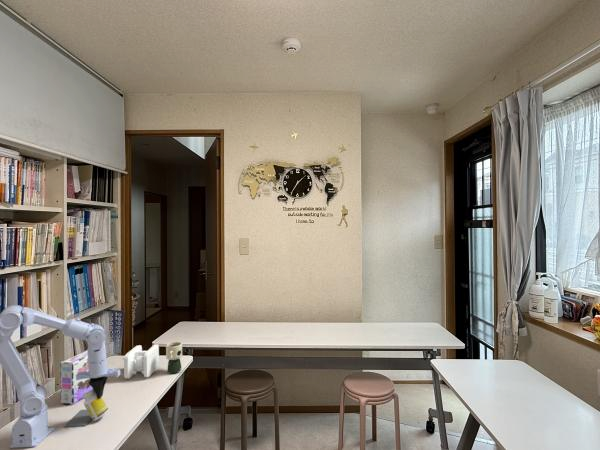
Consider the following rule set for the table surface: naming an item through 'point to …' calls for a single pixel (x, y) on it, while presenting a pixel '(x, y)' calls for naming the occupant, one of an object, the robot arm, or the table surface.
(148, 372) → the cable organizer
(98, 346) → the robot arm
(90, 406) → the supplement bottle
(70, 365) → the candy box
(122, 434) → the table surface
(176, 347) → the character mug
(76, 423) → the mat
